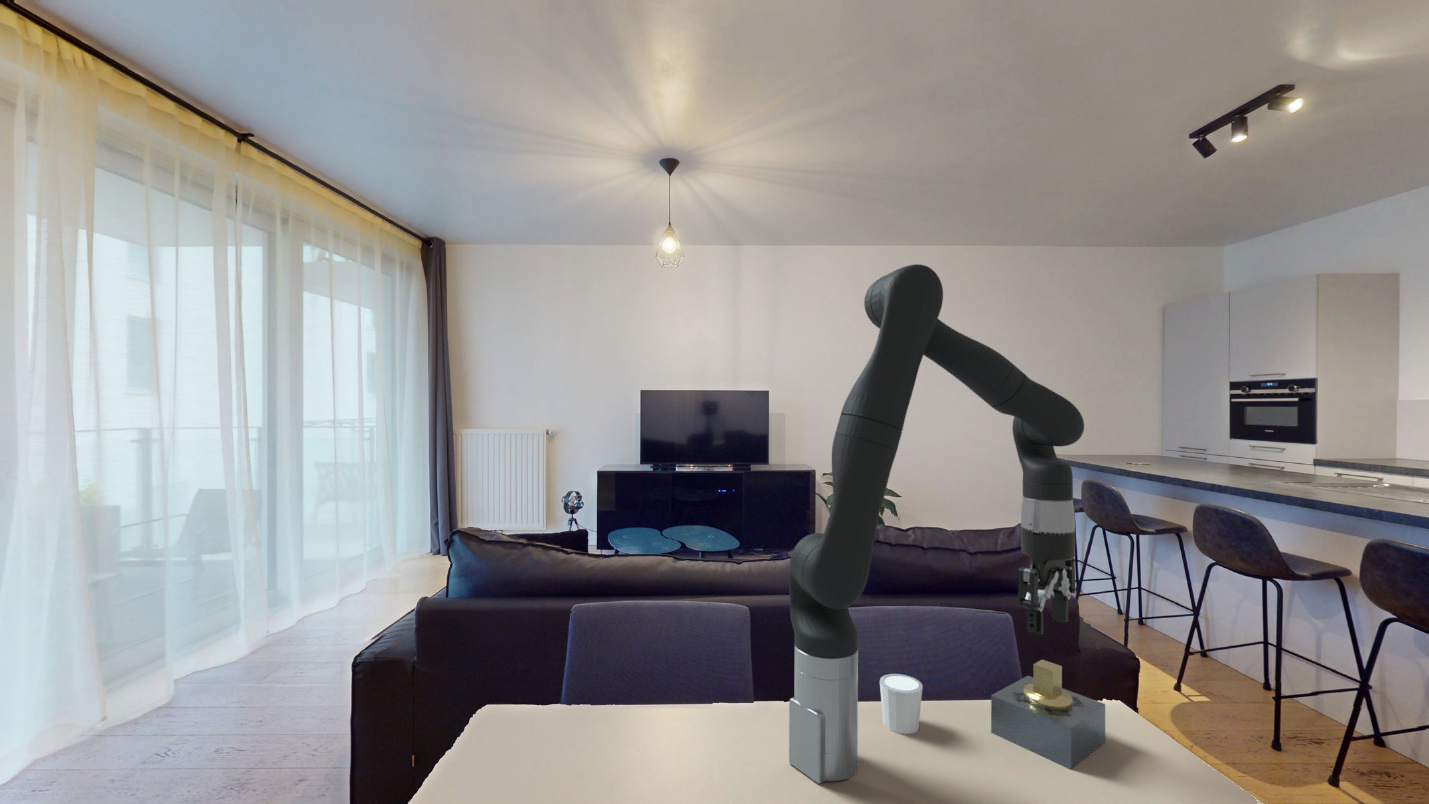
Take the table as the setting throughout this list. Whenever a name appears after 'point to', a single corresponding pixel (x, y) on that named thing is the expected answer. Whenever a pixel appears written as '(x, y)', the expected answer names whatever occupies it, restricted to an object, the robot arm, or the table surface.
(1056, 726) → the housing
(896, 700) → the shot glass
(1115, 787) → the table surface
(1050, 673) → the end cover
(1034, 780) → the table surface
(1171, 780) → the table surface
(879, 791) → the table surface
